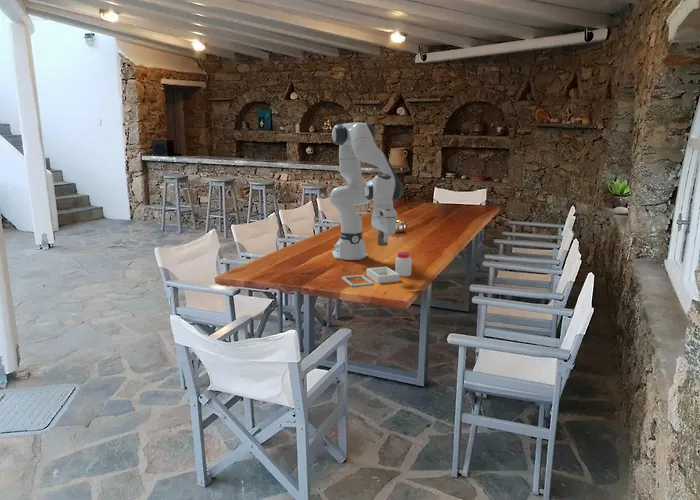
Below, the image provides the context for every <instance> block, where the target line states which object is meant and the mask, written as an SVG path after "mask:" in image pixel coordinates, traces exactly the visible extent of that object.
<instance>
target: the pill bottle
mask: <svg viewBox="0 0 700 500" xmlns="http://www.w3.org/2000/svg"><path fill="white" fill-rule="evenodd" d="M394 260H395V261H394V262H395V263H394V266H395V267H394V271H395V272H396V273H398V274H399V277H409V276H411V275H412V263H413V262H412V261H413V260H412V257H411V256H410V252H407V251H399V252H397V256H396V257H395V259H394Z"/></svg>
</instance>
